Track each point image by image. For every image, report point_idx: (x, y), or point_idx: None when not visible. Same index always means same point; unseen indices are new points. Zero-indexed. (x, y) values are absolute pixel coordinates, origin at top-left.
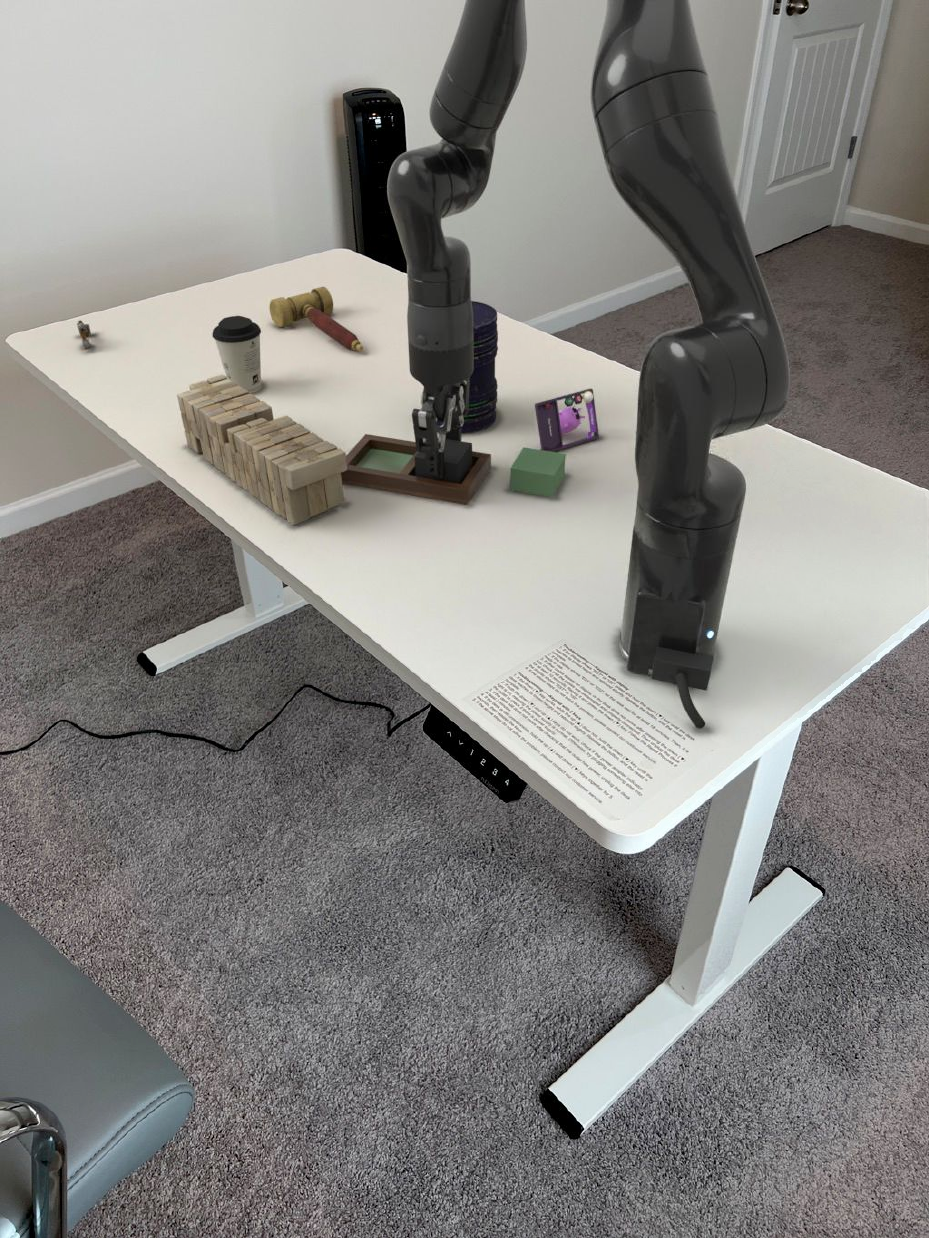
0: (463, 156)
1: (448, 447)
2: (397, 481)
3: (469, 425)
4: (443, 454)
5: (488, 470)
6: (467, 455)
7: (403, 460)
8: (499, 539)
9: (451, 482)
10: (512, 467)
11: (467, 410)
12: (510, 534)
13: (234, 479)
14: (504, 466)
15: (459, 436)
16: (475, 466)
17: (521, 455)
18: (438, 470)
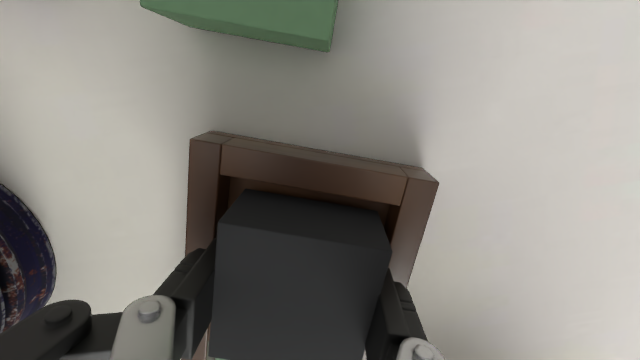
0: None
1: (272, 296)
2: None
3: (9, 229)
4: (394, 322)
5: (233, 136)
6: (279, 220)
7: None
8: (613, 46)
9: (392, 235)
10: (321, 32)
11: (57, 319)
12: (589, 13)
13: None
14: (187, 90)
15: (206, 279)
16: (284, 179)
17: (213, 4)
18: (402, 295)
